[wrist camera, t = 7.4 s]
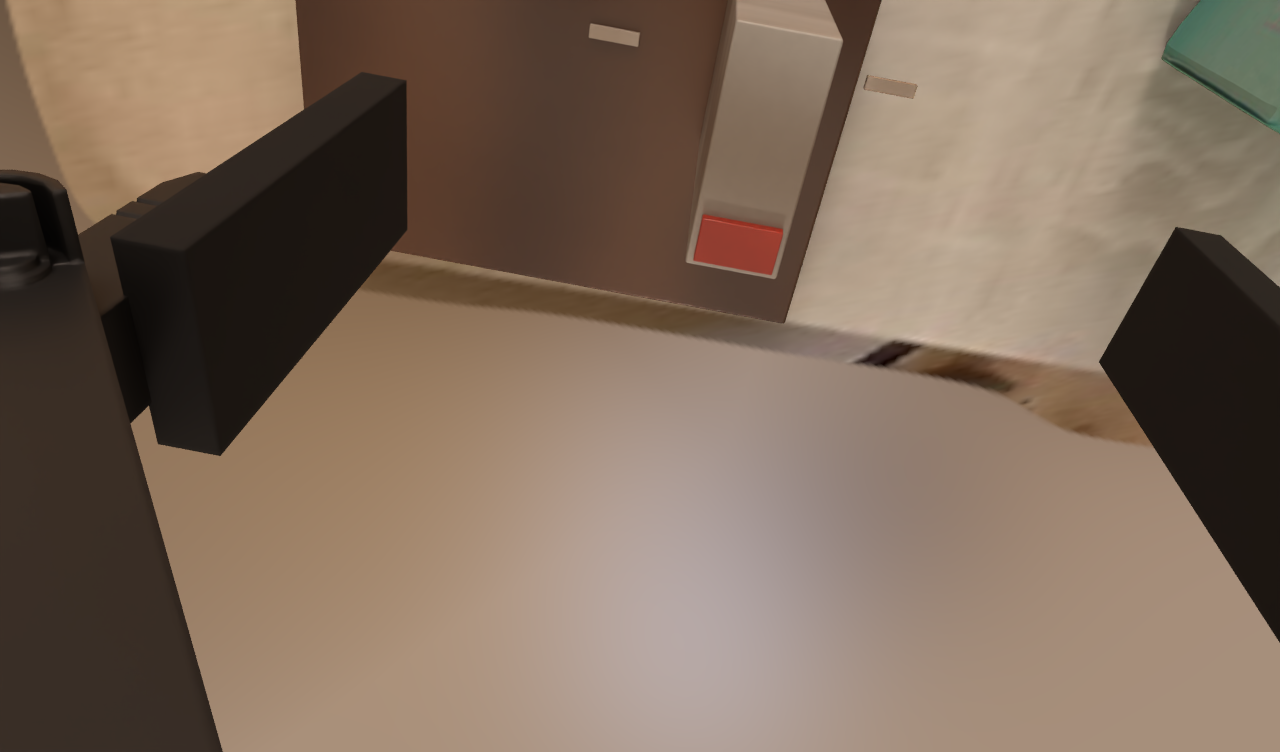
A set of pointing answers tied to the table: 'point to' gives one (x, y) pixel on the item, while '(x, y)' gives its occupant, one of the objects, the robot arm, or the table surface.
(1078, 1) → the table surface
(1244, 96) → the box
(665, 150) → the dial panel
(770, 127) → the red-tipped grey block
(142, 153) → the table surface
